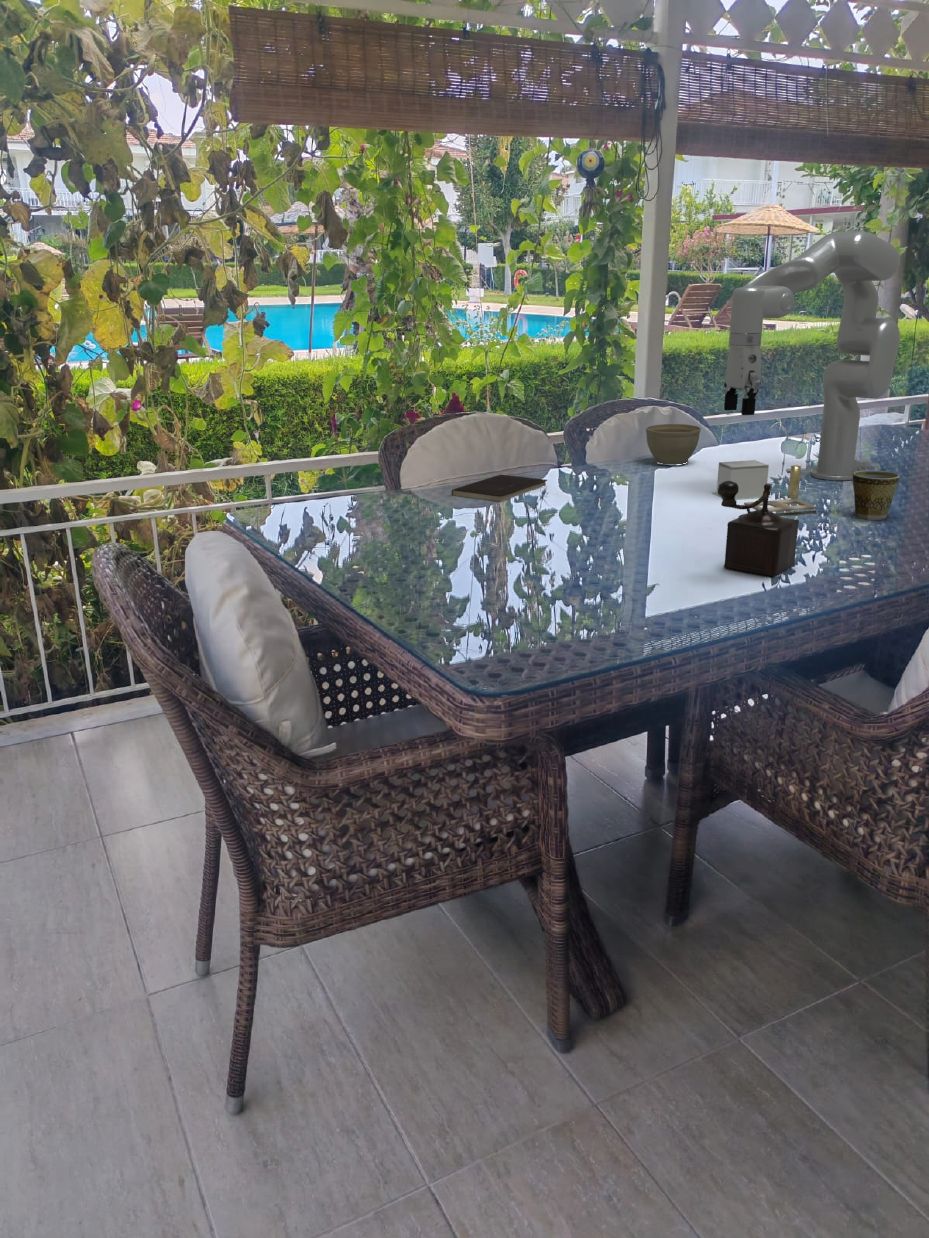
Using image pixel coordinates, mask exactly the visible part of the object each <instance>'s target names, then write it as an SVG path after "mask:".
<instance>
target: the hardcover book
mask: <svg viewBox="0 0 929 1238" xmlns="http://www.w3.org/2000/svg"><path fill="white" fill-rule="evenodd" d="M547 481H548V479H543V478H533V477H526V476H518V475H510V474H497V475H495V476H491V477H488V478H485V479H482V480H481V479H480V480H477V481H475V482H473V483H469V484H466V485H462V486H459V487H454V488H453V489H451V496H454V497H455V496H456V497H462V498H469V499H476V500H477V499H479V500H484V501H492V502H499V503H501V502H503V501H507V500H510V499H512V498H516V497H518V496H521V495H523V493H524V494H526V493H529V491H530V492H532V491H531V490H533V491H535V490H537V489H541V488H543V487H542V486H544V487H546V485H547V484H546V482H547ZM540 487H541V488H540ZM515 496H516V497H515Z"/></svg>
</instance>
